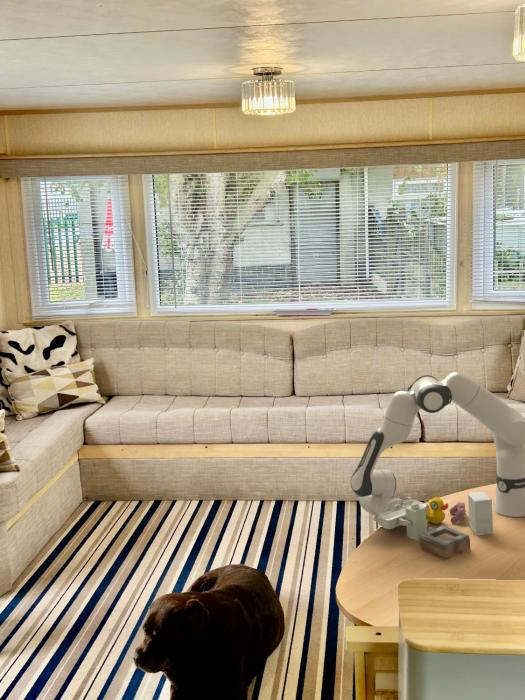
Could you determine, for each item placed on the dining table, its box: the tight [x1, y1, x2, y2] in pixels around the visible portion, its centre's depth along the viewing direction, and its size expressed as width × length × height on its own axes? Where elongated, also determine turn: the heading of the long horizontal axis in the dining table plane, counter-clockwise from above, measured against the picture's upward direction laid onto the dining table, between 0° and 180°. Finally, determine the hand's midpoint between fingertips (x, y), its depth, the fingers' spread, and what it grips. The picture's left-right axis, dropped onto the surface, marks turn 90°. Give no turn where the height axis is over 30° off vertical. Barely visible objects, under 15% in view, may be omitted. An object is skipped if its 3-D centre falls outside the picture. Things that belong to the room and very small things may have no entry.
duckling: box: [425, 496, 449, 525], centre depth 286 cm, size 11×5×10 cm, turn 44°
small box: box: [467, 491, 494, 536], centre depth 275 cm, size 8×6×13 cm
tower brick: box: [405, 503, 428, 541], centre depth 276 cm, size 5×5×12 cm
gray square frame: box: [419, 524, 471, 561], centre depth 264 cm, size 12×12×5 cm
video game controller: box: [449, 501, 467, 524], centre depth 288 cm, size 10×5×7 cm, turn 169°
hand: (417, 521), depth 275 cm, fingers closed on tower brick, 5 cm apart
